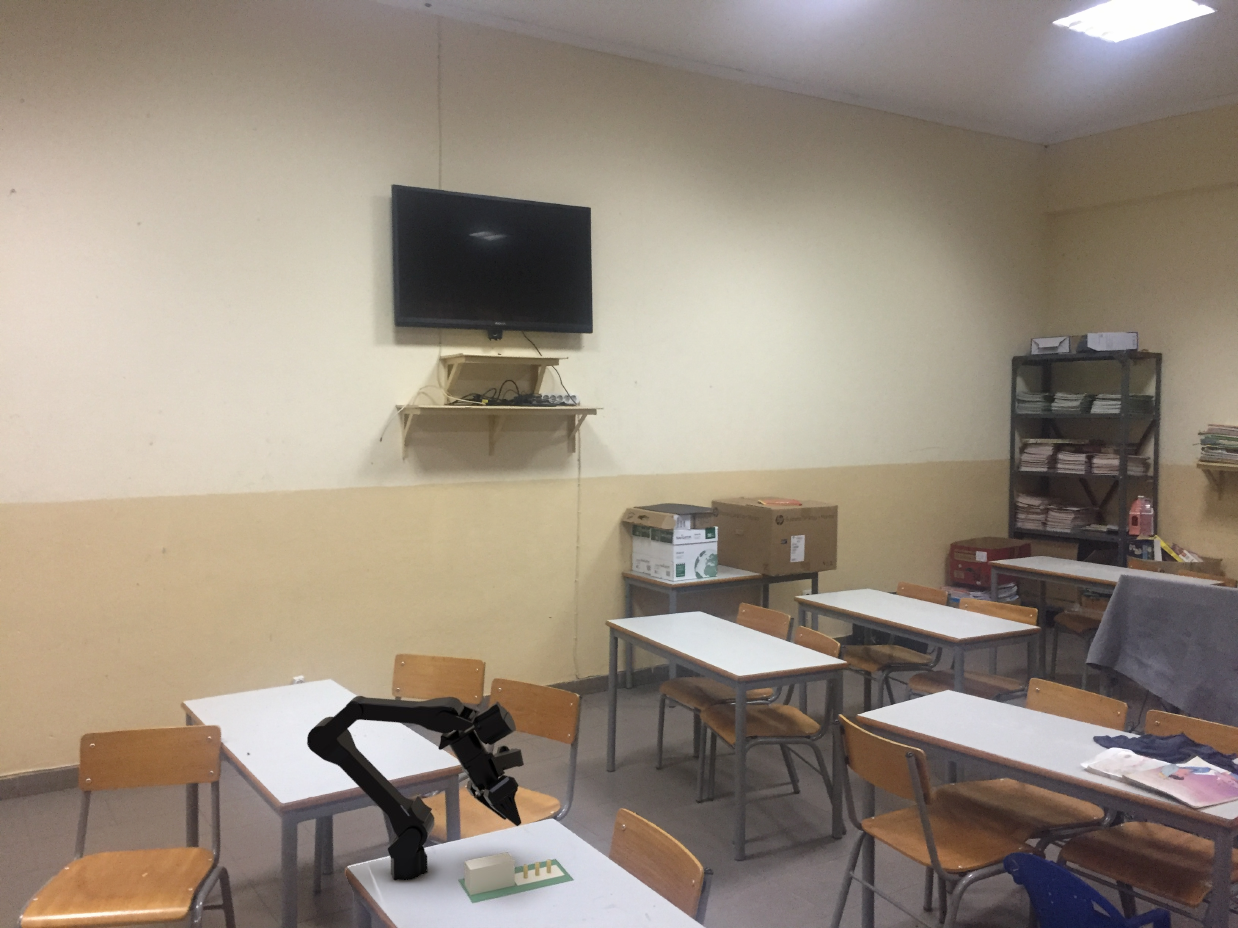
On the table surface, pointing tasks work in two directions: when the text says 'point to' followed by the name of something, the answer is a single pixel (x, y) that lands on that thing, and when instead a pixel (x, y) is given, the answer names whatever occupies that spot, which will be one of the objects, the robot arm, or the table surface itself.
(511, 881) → the block
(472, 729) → the robot arm
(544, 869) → the board
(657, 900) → the table surface
